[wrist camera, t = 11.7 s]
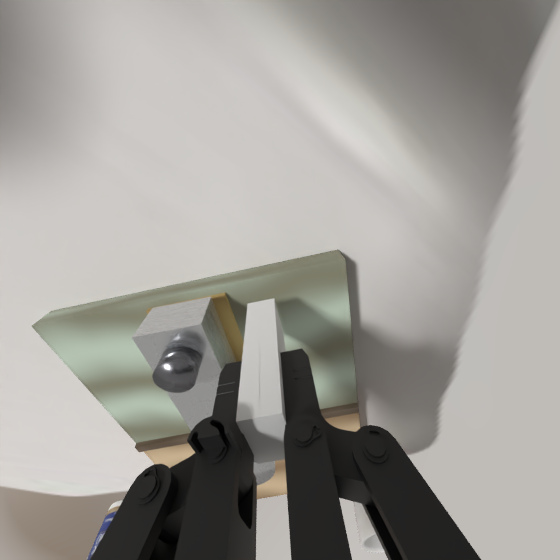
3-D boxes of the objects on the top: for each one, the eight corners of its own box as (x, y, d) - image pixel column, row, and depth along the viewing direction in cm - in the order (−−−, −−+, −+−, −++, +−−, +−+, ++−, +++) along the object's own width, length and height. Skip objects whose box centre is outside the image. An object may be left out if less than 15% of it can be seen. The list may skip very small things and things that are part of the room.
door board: (51, 311, 17) (21, 333, 15) (338, 249, 16) (349, 264, 14) (198, 492, 30) (193, 517, 28) (359, 465, 29) (367, 488, 27)
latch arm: (279, 448, 22) (281, 501, 18) (224, 457, 22) (217, 511, 19) (223, 294, 14) (211, 338, 11) (140, 310, 14) (102, 359, 11)
